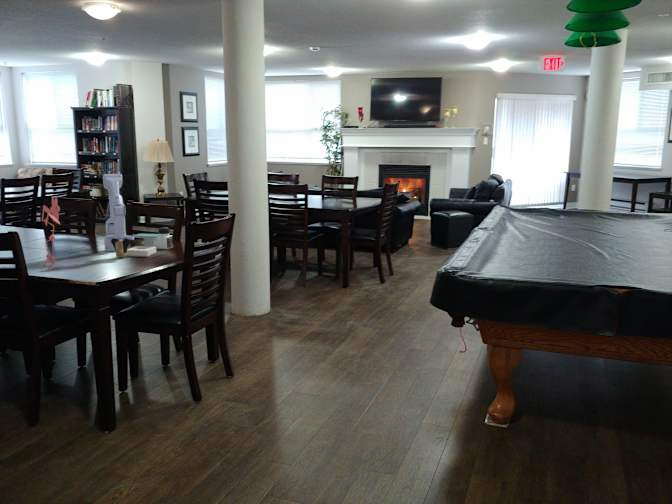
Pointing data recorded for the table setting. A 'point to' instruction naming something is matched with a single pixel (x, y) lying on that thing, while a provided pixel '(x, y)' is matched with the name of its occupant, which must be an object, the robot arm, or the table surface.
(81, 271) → the table surface
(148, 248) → the socket block
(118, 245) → the oak peg
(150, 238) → the awning
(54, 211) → the figurine
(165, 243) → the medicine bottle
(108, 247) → the robot arm
